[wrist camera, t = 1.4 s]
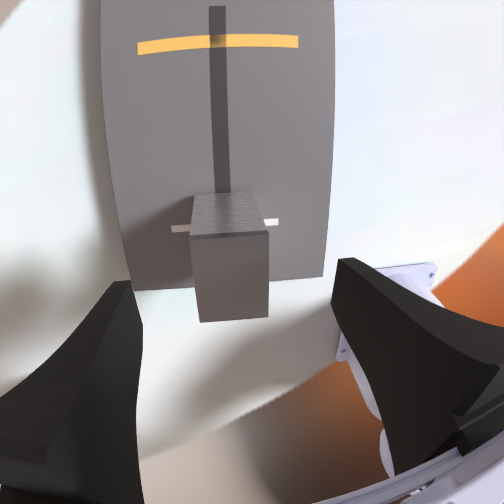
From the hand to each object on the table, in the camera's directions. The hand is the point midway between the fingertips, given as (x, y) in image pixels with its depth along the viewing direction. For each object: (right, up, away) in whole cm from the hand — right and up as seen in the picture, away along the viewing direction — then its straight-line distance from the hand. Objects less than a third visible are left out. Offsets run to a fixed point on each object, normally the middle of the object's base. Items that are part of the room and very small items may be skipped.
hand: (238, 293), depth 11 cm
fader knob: (-1, +3, +7) cm, 7 cm away
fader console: (-1, +9, +6) cm, 11 cm away
